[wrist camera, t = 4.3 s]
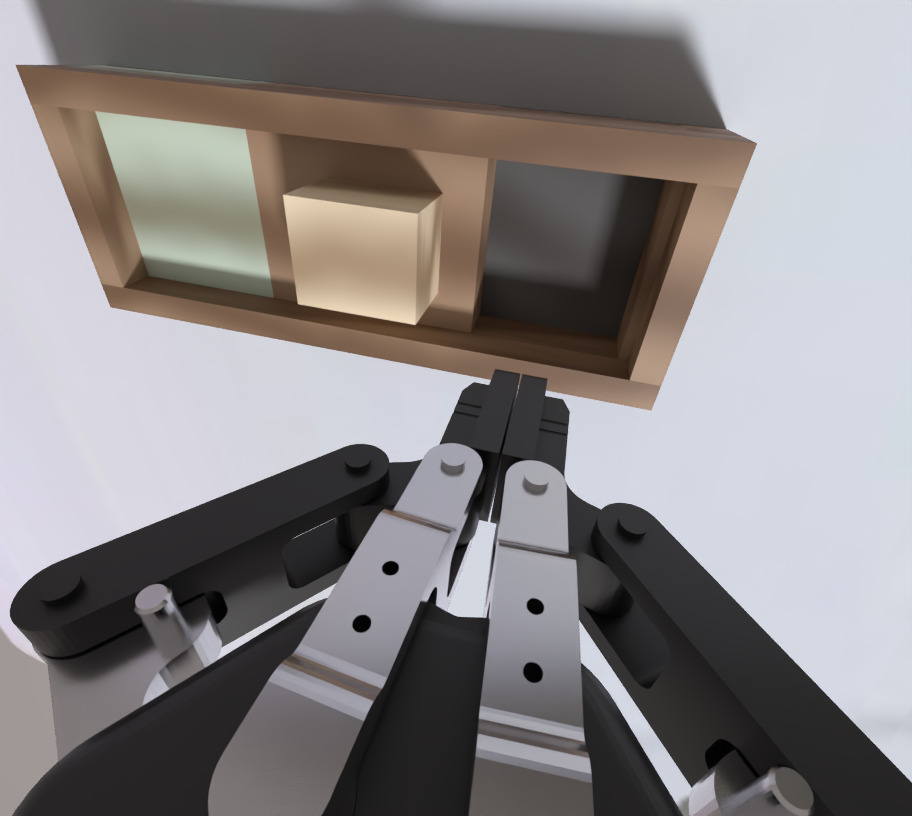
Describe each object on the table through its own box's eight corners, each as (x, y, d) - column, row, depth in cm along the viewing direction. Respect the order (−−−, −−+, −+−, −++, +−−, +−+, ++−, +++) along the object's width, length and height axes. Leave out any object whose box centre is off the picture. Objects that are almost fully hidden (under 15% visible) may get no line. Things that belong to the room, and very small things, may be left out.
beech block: (325, 177, 23) (282, 194, 20) (443, 193, 22) (417, 213, 19) (333, 275, 26) (298, 304, 23) (437, 293, 25) (415, 325, 22)
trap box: (105, 65, 26) (15, 65, 22) (726, 129, 21) (756, 143, 17) (169, 278, 33) (110, 307, 29) (643, 362, 28) (651, 410, 24)
